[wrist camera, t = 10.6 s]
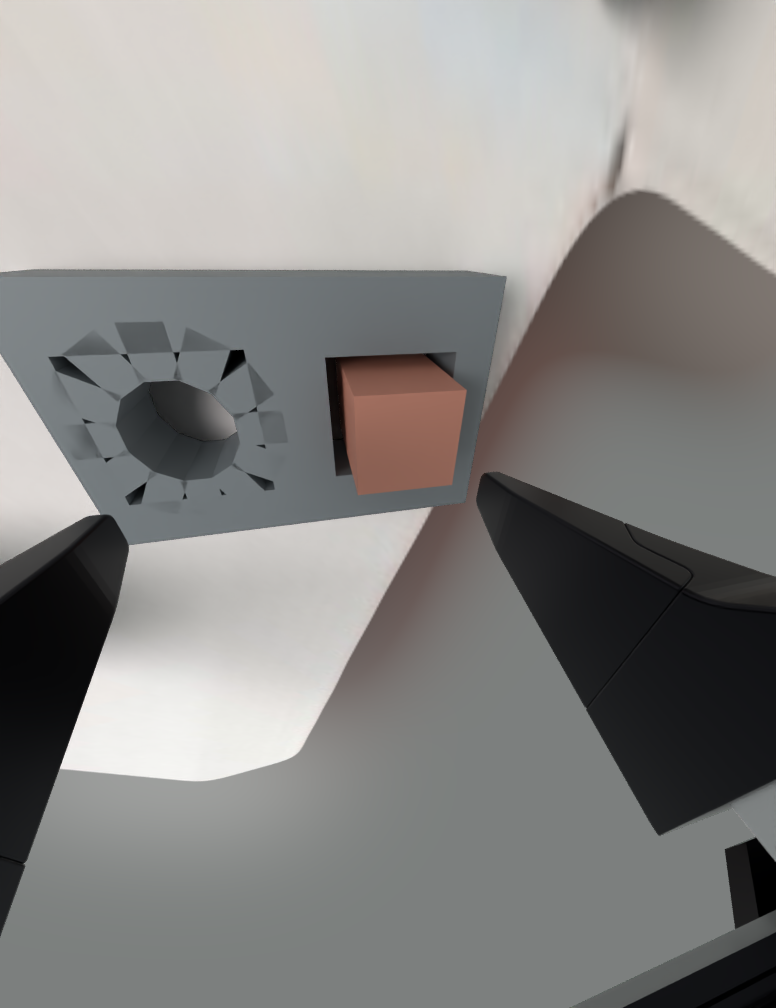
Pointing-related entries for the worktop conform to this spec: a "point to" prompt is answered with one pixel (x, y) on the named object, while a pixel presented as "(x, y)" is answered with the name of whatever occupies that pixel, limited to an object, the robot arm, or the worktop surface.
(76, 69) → the worktop surface
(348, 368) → the square peg
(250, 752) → the worktop surface
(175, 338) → the socket block
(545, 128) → the worktop surface
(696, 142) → the worktop surface
